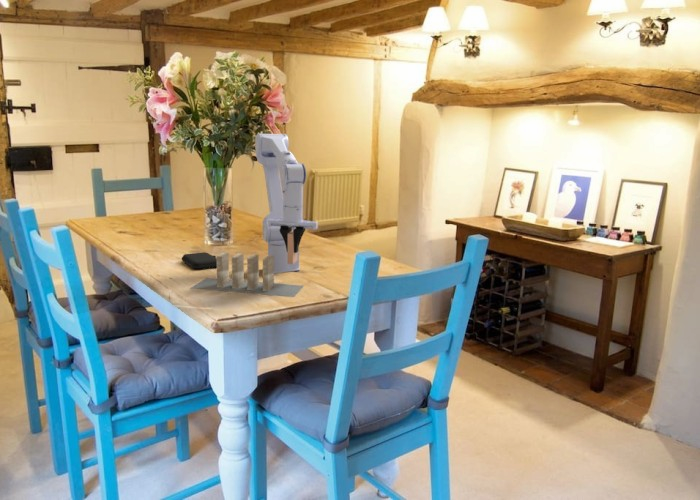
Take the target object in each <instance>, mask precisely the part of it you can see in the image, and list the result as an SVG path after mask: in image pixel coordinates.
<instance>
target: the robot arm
mask: <svg viewBox="0 0 700 500" xmlns="http://www.w3.org/2000/svg"><path fill="white" fill-rule="evenodd" d="M289 143H290V142H289V136H288V135H287V134H286V133H261V132H258V133H257V134H256V135H255V140H254V148H255V156H256V160H257V163H259V164H261V165H262V168H263V172H264V181H265V186H266V187H265V188H266V194H267V195H266V196H267V200H268V209H269V213H267V215H266V216H265V217H264V218H263V220H262V222H261V223H262V224H261V225H262V237H263V240H264V242H265V243H268V244H267V256H274V275H276V274H281V273H289V272H297V271H301V268H300V249H299V248H300V244H301V241H302V237H303V235H304V233H305V231H306V229H309V230H314V231H315V230H317V229H318V228H319V227H318V226H319V222H318V221H312V220H305V219H303V214H304V213H303V207H304V206H303V205H304V185H305V183H306V181H307V169H306V166H305V164H304V163H301V162H300V163H299V162H298V160H297V159H296V157H295V155H294V154H293V153H292V152H291V151H290V150H289V145H290V144H289ZM292 230H293V233H294V253H297V261H296V262H295V263H294V264H287V259H288V233H289V232H291V231H292Z"/></svg>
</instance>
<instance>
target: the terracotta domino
mask: <svg viewBox="0 0 700 500" xmlns="http://www.w3.org/2000/svg"><path fill="white" fill-rule="evenodd" d="M296 261H297V253H294V233H293V230H292V231H291V232H289V233H288V259H287V264H294V263H295V262H296Z"/></svg>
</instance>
